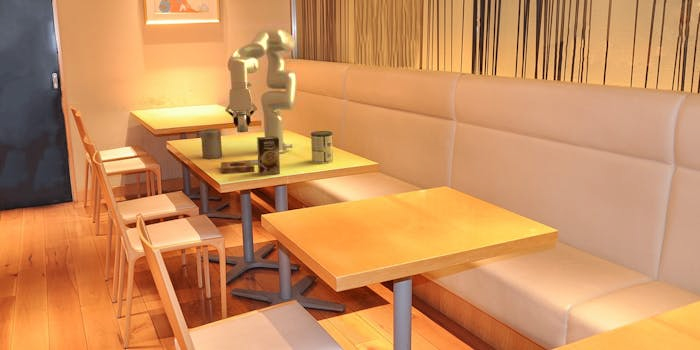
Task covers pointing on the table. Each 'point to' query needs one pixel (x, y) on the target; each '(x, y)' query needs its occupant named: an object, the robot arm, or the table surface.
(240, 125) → the end cap
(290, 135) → the table surface
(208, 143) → the pillar candle
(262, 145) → the coffee box
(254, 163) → the rubber mat
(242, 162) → the brown wooden square frame
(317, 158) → the coffee can
